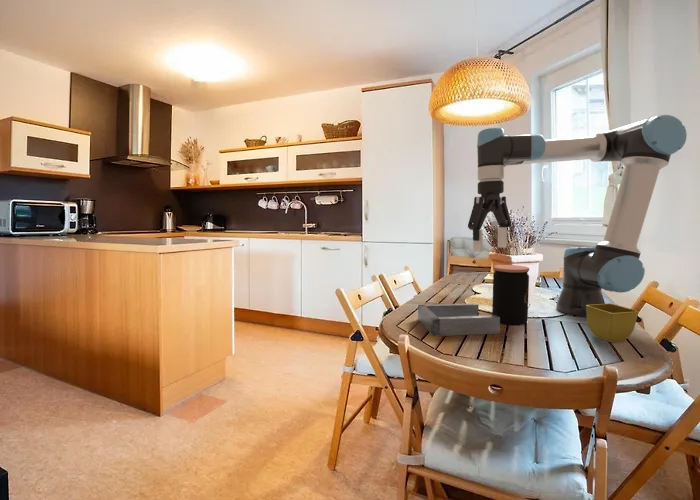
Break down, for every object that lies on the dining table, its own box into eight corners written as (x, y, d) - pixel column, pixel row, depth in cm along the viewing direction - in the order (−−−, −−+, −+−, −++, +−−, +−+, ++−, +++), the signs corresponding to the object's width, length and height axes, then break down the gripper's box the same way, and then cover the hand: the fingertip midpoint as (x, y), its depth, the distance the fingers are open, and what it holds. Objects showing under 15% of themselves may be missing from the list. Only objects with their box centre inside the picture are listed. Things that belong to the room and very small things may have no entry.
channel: (475, 317, 125) (476, 303, 124) (499, 333, 108) (499, 317, 107) (418, 319, 123) (418, 304, 123) (432, 336, 107) (433, 319, 106)
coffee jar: (531, 327, 114) (533, 269, 112) (495, 325, 116) (496, 269, 114) (522, 317, 124) (524, 265, 122) (489, 316, 126) (490, 264, 124)
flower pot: (637, 343, 99) (639, 310, 98) (610, 346, 97) (612, 313, 96) (608, 333, 107) (610, 303, 106) (583, 335, 106) (584, 304, 105)
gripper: (501, 182, 123) (501, 245, 125) (455, 181, 108) (455, 252, 110) (523, 180, 117) (522, 246, 119) (477, 178, 102) (477, 253, 104)
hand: (490, 249), depth 115 cm, fingers open, 13 cm apart
